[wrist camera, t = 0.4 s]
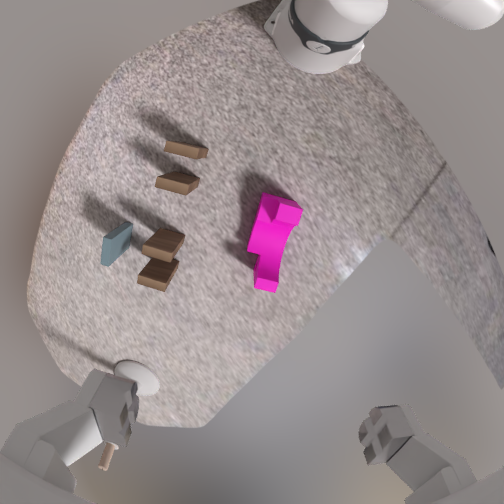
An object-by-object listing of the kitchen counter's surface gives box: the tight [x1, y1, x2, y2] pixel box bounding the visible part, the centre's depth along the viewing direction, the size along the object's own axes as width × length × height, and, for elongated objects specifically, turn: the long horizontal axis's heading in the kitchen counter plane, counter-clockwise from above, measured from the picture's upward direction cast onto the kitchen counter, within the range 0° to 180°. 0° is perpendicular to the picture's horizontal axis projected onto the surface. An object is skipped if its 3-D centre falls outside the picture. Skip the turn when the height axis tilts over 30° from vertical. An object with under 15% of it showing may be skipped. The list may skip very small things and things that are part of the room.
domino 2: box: [164, 141, 208, 159], centre depth 43 cm, size 2×5×10 cm, turn 73°
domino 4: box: [142, 228, 185, 262], centre depth 49 cm, size 2×5×10 cm, turn 73°
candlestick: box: [98, 361, 160, 471], centre depth 52 cm, size 13×13×30 cm
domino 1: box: [101, 222, 133, 267], centre depth 48 cm, size 2×5×10 cm, turn 163°
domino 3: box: [155, 172, 200, 195], centre depth 45 cm, size 2×5×10 cm, turn 73°
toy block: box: [247, 192, 303, 293], centre depth 50 cm, size 15×6×8 cm, turn 165°
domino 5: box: [137, 257, 179, 292], centre depth 50 cm, size 2×5×10 cm, turn 73°
